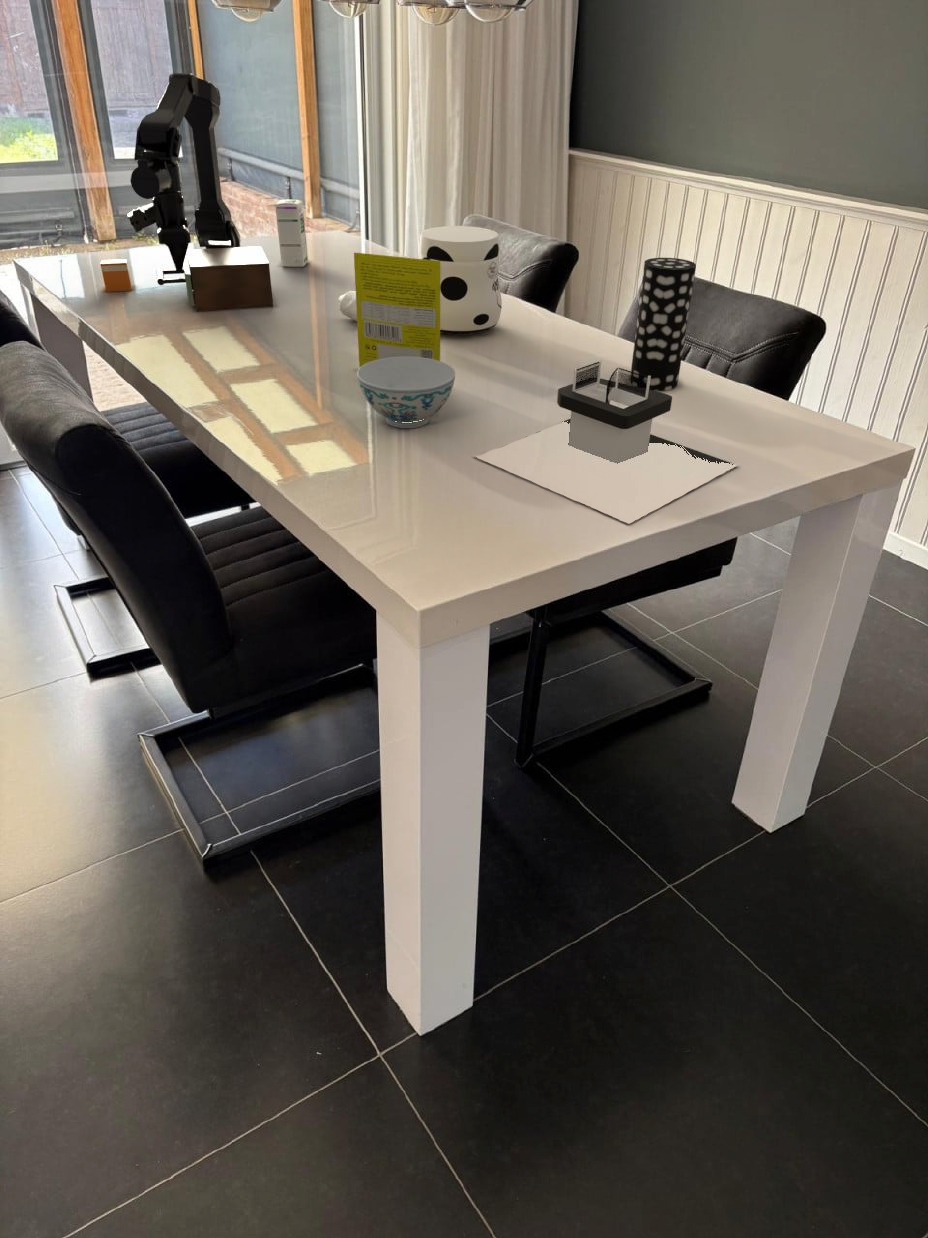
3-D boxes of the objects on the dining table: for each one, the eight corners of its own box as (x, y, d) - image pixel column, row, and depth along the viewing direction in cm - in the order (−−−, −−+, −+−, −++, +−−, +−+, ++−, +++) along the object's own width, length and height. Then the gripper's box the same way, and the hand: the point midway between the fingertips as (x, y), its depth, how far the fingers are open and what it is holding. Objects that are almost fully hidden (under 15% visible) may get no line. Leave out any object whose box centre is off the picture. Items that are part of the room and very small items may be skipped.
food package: (441, 380, 156) (441, 260, 145) (438, 382, 155) (439, 261, 144) (360, 369, 160) (355, 251, 149) (358, 371, 159) (352, 253, 148)
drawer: (161, 308, 186) (155, 275, 183) (159, 288, 199) (154, 257, 195) (267, 301, 192) (264, 270, 188) (259, 283, 204) (256, 253, 200)
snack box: (105, 291, 200) (100, 263, 196) (106, 287, 203) (100, 260, 199) (131, 290, 201) (126, 262, 198) (132, 286, 204) (126, 258, 201)
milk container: (518, 328, 183) (522, 234, 172) (459, 346, 172) (461, 247, 162) (456, 311, 192) (457, 220, 182) (398, 327, 182) (395, 232, 172)
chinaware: (419, 446, 133) (419, 396, 128) (339, 424, 139) (336, 376, 135) (472, 415, 143) (473, 368, 139) (396, 396, 150) (395, 350, 145)
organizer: (196, 311, 189) (190, 266, 183) (193, 291, 201) (186, 249, 196) (273, 306, 192) (269, 262, 187) (265, 287, 205) (260, 246, 200)
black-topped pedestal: (739, 466, 129) (757, 375, 121) (628, 525, 113) (642, 426, 106) (587, 412, 145) (595, 329, 138) (473, 457, 130) (475, 367, 122)
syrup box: (304, 266, 222) (299, 203, 214) (280, 266, 222) (274, 202, 214) (308, 261, 227) (303, 199, 219) (285, 261, 227) (279, 198, 219)
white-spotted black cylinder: (648, 393, 153) (665, 271, 141) (620, 378, 159) (634, 260, 148) (687, 386, 156) (706, 266, 145) (657, 372, 162) (674, 255, 151)
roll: (356, 310, 191) (354, 283, 188) (384, 324, 183) (383, 296, 180) (330, 314, 188) (329, 287, 185) (359, 329, 180) (357, 300, 177)
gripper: (126, 183, 187) (139, 262, 196) (125, 199, 172) (139, 283, 181) (181, 182, 190) (192, 260, 199) (184, 198, 175) (196, 280, 184)
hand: (179, 270), depth 191 cm, fingers closed
